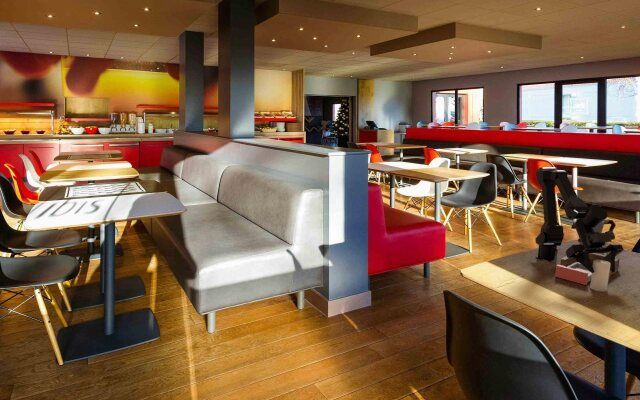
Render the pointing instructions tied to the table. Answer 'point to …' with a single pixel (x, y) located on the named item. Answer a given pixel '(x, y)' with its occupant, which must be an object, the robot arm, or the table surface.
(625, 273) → the table surface
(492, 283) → the table surface
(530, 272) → the table surface
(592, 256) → the slot
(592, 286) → the canister
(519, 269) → the table surface
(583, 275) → the tray
